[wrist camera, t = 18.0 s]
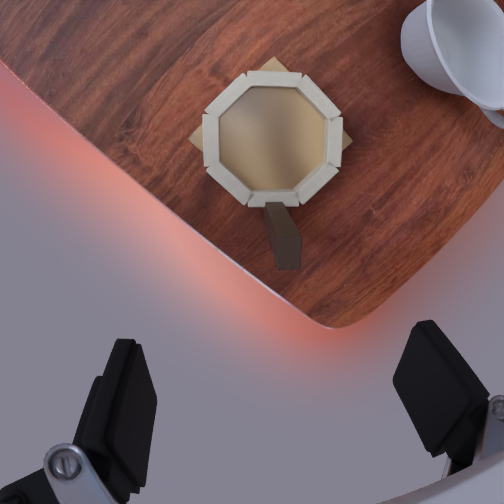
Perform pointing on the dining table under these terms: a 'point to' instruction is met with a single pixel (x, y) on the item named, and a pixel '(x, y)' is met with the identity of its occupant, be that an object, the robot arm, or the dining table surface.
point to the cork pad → (270, 136)
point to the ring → (275, 200)
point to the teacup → (459, 50)
